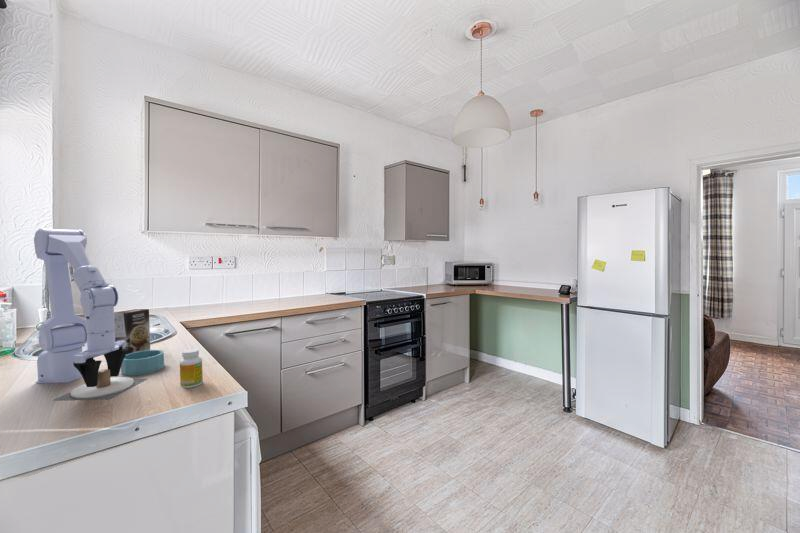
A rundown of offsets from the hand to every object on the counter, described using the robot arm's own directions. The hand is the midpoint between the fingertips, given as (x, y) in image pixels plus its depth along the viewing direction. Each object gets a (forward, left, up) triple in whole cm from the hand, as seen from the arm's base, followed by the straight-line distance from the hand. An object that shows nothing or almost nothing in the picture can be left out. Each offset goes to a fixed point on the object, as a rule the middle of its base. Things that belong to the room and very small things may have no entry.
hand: (103, 381), depth 94 cm
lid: (0, 0, -2) cm, 2 cm away
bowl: (0, +16, -2) cm, 16 cm away
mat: (0, 0, -2) cm, 2 cm away
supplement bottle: (+22, +3, -3) cm, 22 cm away
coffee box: (-16, +34, -3) cm, 37 cm away
